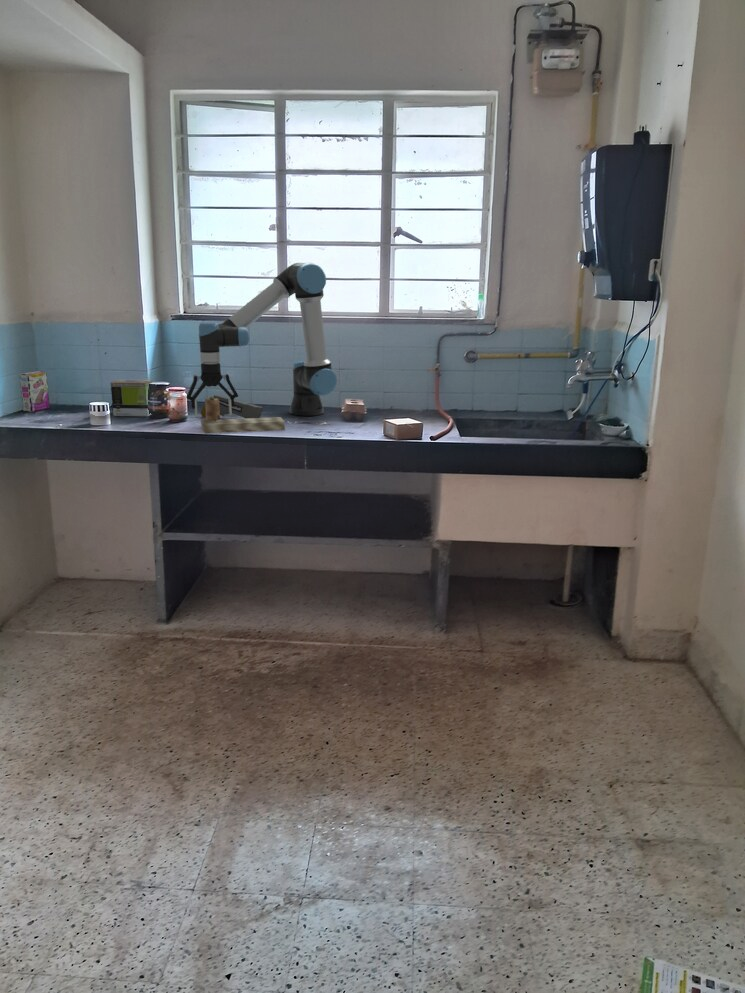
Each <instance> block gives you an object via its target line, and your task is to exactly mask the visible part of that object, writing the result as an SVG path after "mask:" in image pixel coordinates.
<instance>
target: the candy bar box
mask: <svg viewBox="0 0 745 993" xmlns="http://www.w3.org/2000/svg"><path fill="white" fill-rule="evenodd" d="M19 382H20V383H19V384H20V391H21V401H22V403H21V404H22V409H23V412H26V413H34V412H39V411H44V410H48V409H50V398H49V397H50V396H49V389H48V388H49V387H48V385H49V384H48V375H47V371H43V370H42V371H40V370H38V371H31V372H25V373H24V372H23V373H19Z"/></svg>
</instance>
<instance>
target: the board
mask: <svg viewBox="0 0 745 993" xmlns="http://www.w3.org/2000/svg"><path fill="white" fill-rule="evenodd" d="M285 424H286V423H285V420H284V419H283V418H282V417H281V416H276V417H275V416H274V417H260V418H224V419H221V418H220V420H216V421H214V420H206V419H201V420H200V427H201V431H202V433H203V434H204V435H206V434H226V433H247V432H248V433H250V432H252V433H253V432H267V431H268V432H269V431H272V432H274V431H285V430H286V429H285V428H286V426H285Z"/></svg>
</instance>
